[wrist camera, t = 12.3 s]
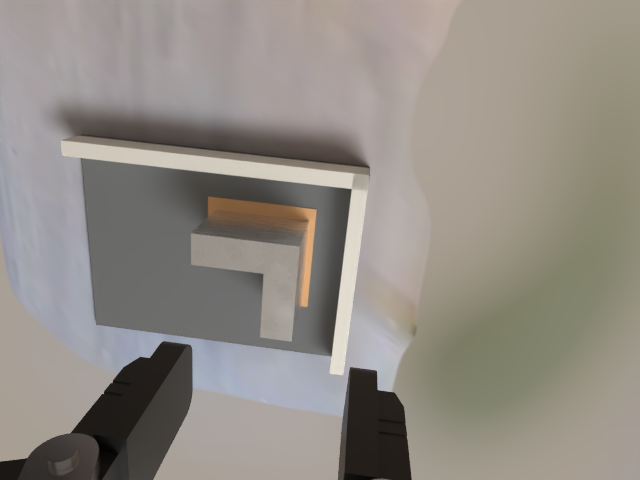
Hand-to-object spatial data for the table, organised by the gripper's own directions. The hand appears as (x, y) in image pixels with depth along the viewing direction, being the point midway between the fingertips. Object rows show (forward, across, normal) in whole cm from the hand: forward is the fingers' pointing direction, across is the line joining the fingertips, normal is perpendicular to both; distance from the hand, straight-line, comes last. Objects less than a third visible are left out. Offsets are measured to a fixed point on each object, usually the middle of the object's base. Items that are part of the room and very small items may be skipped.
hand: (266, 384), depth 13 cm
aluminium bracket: (+27, +6, +8) cm, 29 cm away
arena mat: (+27, +9, +8) cm, 30 cm away
